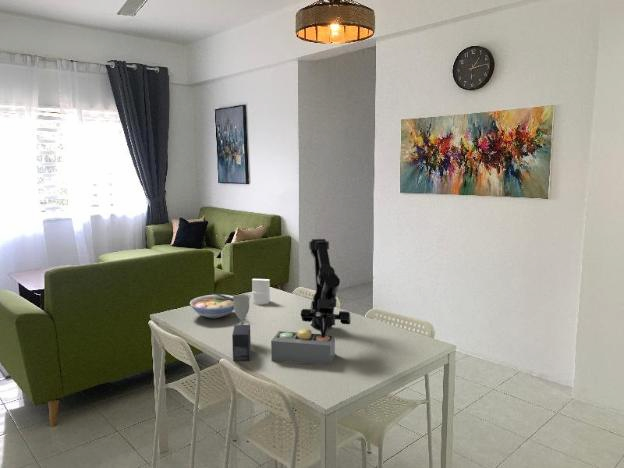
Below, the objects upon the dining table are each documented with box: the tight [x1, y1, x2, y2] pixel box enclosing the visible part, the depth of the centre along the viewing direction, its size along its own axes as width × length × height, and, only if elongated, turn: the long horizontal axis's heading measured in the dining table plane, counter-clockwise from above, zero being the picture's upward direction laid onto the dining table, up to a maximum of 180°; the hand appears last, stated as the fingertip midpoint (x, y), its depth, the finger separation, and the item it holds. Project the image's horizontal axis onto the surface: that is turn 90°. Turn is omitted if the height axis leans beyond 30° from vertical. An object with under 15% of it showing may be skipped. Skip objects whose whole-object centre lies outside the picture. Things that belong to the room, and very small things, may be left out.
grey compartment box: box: [270, 330, 336, 366], centre depth 180 cm, size 11×22×8 cm, turn 78°
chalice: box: [232, 293, 251, 325], centre depth 197 cm, size 7×7×18 cm
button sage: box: [280, 331, 293, 339], centre depth 183 cm, size 5×5×3 cm
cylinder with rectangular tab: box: [251, 278, 271, 306], centre depth 250 cm, size 9×9×12 cm
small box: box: [231, 324, 252, 362], centre depth 181 cm, size 11×6×10 cm, turn 5°
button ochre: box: [297, 328, 312, 340], centre depth 181 cm, size 5×5×3 cm
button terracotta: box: [316, 334, 330, 342], centre depth 180 cm, size 5×5×3 cm
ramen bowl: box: [189, 292, 235, 319], centre depth 227 cm, size 25×23×8 cm
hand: (322, 337), depth 179 cm, fingers closed, pressing on button terracotta
